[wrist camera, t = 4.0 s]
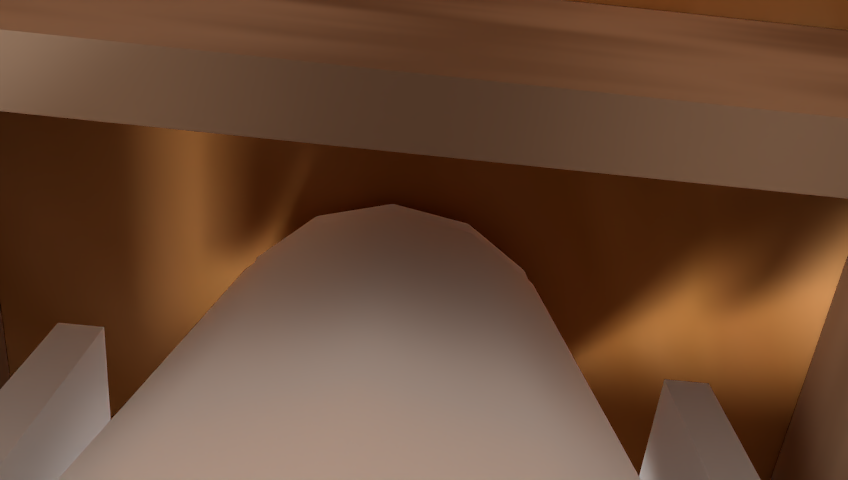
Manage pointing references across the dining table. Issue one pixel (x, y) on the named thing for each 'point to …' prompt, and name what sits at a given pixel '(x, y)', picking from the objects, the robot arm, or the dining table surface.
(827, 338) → the crate
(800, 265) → the dining table surface
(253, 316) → the foam cup
